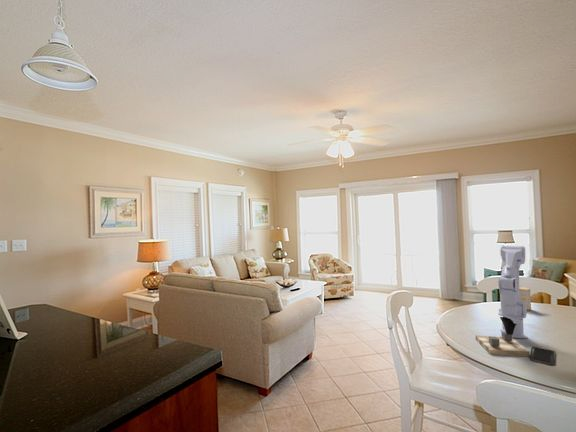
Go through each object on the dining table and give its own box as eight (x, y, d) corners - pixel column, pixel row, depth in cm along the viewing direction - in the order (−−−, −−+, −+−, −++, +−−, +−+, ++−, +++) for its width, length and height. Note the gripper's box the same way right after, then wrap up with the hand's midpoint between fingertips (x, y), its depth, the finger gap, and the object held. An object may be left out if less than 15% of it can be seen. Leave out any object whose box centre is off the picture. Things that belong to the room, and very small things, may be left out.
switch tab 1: (489, 343, 136) (488, 336, 136) (496, 343, 136) (496, 336, 136) (491, 345, 134) (491, 339, 134) (499, 346, 133) (499, 339, 133)
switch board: (475, 339, 147) (475, 335, 147) (511, 341, 143) (510, 336, 143) (489, 353, 131) (489, 349, 131) (529, 356, 128) (529, 351, 128)
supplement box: (531, 309, 188) (530, 288, 188) (527, 310, 186) (527, 289, 186) (516, 306, 195) (515, 285, 195) (512, 307, 193) (511, 287, 193)
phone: (529, 358, 125) (531, 346, 136) (529, 361, 125) (531, 348, 136) (554, 364, 119) (555, 350, 130) (554, 367, 119) (555, 353, 130)
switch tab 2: (501, 337, 142) (501, 331, 142) (509, 338, 141) (508, 331, 141) (504, 340, 139) (504, 333, 139) (512, 340, 138) (512, 334, 138)
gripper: (491, 299, 145) (492, 327, 145) (506, 308, 131) (507, 340, 131) (508, 299, 144) (509, 328, 144) (524, 309, 130) (525, 340, 130)
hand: (509, 334), depth 137 cm, fingers closed
